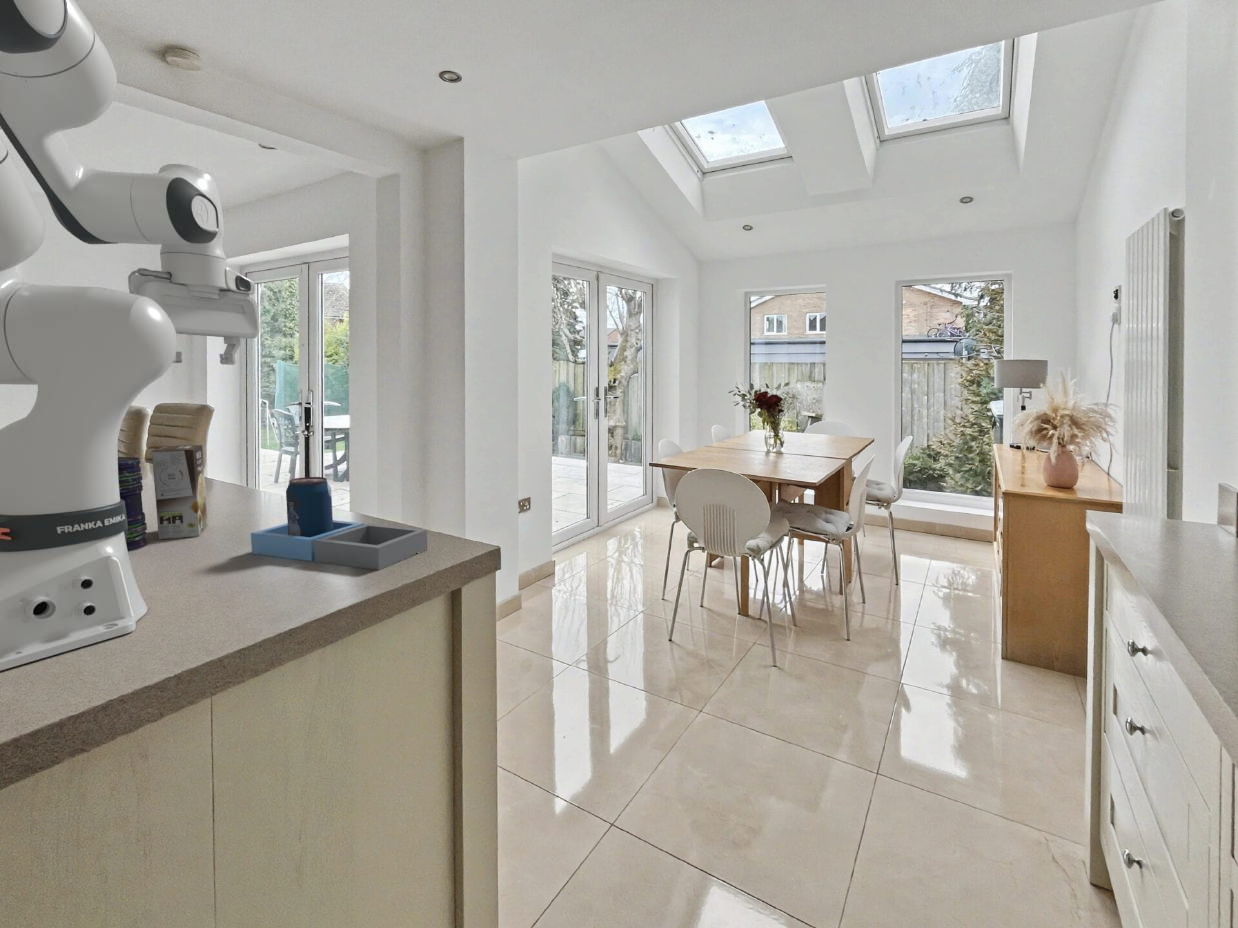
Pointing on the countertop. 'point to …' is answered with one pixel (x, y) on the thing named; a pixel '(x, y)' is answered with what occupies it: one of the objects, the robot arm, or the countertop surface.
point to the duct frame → (343, 544)
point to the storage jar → (132, 501)
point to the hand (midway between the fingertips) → (202, 363)
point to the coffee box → (180, 491)
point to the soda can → (309, 507)
